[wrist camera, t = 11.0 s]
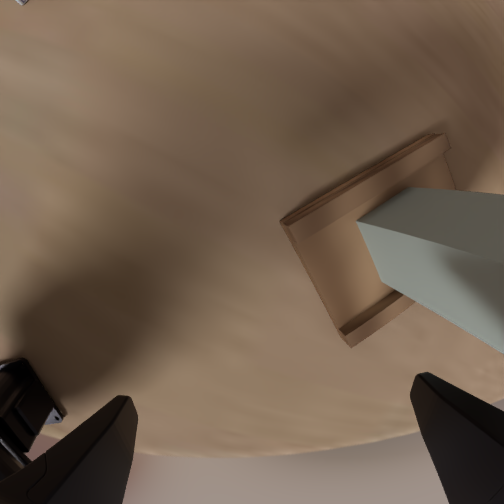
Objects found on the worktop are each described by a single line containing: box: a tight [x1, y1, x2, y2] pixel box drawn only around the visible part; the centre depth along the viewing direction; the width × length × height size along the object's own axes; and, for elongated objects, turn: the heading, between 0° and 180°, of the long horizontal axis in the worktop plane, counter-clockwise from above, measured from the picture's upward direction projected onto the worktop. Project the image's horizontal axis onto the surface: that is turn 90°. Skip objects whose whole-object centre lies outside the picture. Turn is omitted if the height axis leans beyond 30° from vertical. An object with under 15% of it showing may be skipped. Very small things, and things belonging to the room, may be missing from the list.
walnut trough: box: [280, 133, 456, 348], centre depth 21 cm, size 14×10×2 cm
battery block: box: [356, 187, 504, 354], centre depth 14 cm, size 5×5×14 cm
